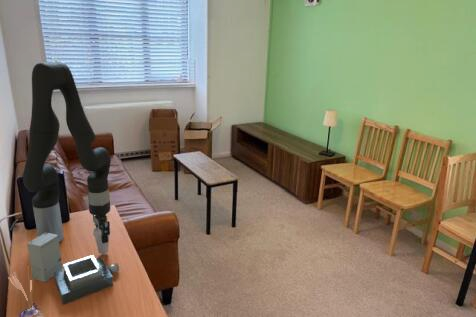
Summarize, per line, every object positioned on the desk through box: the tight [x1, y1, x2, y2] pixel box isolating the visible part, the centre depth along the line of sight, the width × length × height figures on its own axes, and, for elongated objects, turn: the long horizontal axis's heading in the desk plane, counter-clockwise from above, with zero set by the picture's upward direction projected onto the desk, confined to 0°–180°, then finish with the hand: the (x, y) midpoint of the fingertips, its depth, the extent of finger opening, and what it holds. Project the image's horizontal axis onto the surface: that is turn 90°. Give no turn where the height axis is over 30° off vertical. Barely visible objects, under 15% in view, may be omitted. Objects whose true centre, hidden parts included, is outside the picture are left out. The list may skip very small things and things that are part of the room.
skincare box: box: [26, 232, 64, 284], centre depth 121 cm, size 8×6×15 cm
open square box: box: [53, 254, 120, 305], centre depth 119 cm, size 13×20×7 cm, turn 128°
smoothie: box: [92, 226, 110, 255], centre depth 133 cm, size 6×6×14 cm
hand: (102, 238), depth 133 cm, fingers closed on smoothie, 6 cm apart
